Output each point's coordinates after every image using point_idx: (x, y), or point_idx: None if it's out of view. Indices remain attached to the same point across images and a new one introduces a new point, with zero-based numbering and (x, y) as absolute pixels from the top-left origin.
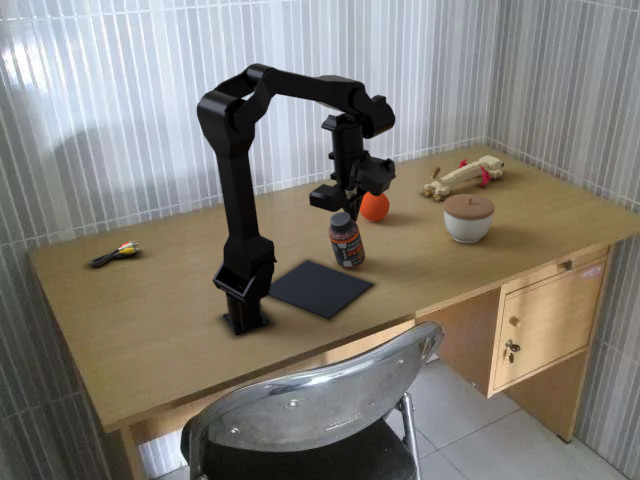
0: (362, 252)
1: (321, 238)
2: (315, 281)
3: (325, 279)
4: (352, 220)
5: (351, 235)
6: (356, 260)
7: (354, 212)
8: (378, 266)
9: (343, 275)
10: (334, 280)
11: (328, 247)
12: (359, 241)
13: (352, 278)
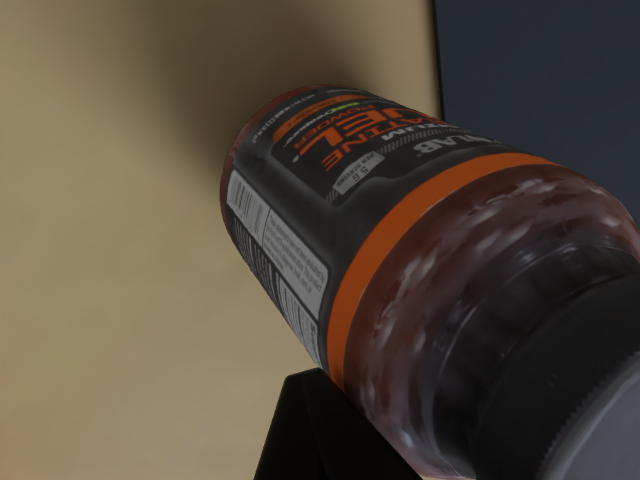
0: (309, 114)
1: (244, 448)
2: (620, 147)
3: (570, 125)
4: (405, 382)
5: (561, 181)
6: (374, 95)
7: (404, 477)
8: (189, 14)
9: (466, 84)
10: (548, 78)
11: (279, 373)
12: (377, 149)
13: (460, 8)
